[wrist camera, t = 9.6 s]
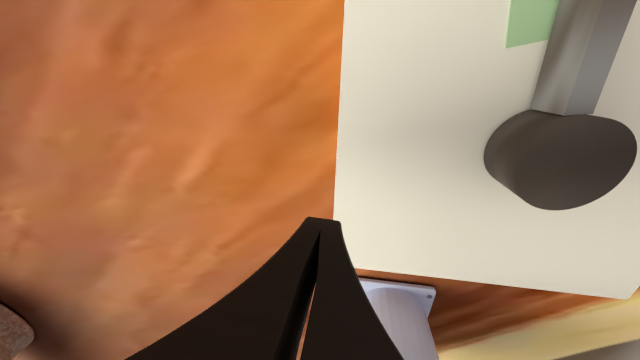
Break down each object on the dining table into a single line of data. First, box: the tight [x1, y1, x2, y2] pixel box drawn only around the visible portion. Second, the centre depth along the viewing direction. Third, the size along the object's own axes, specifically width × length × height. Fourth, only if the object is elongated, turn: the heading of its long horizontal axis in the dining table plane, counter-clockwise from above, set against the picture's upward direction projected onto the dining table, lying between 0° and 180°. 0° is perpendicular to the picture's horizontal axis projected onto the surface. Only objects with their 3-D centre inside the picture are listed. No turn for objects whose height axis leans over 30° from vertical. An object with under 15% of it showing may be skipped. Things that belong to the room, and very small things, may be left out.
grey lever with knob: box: [484, 0, 637, 211], centre depth 11 cm, size 14×5×3 cm, turn 6°
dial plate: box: [333, 0, 640, 300], centre depth 15 cm, size 24×24×1 cm
